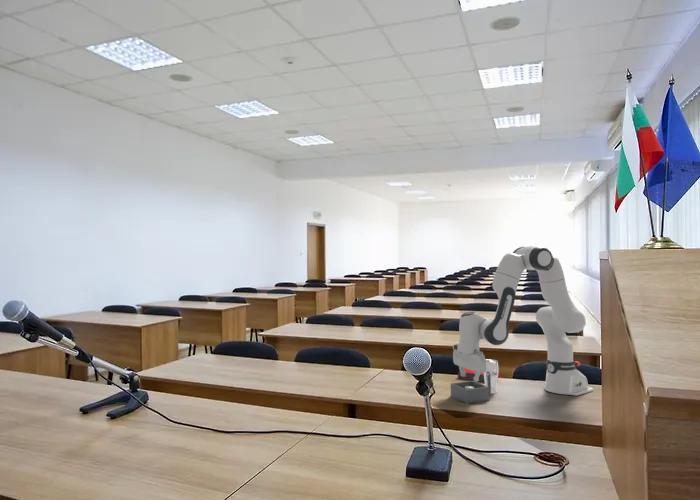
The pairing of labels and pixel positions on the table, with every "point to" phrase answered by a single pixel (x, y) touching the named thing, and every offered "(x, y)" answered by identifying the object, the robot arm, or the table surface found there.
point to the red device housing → (473, 375)
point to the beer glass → (491, 375)
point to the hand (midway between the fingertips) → (469, 378)
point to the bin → (469, 392)
